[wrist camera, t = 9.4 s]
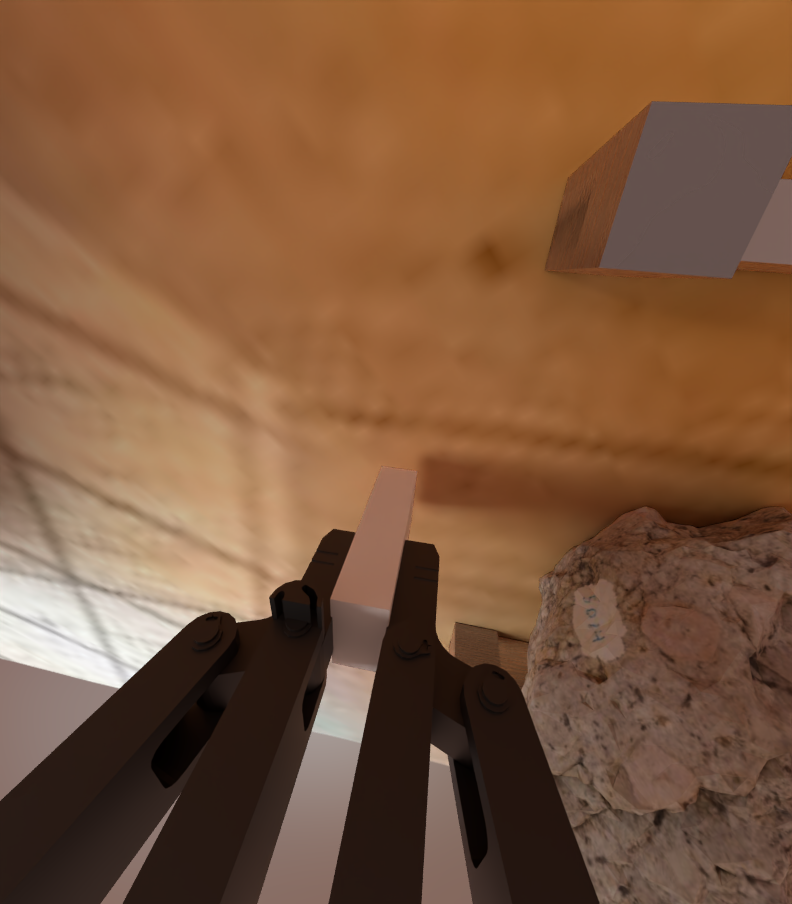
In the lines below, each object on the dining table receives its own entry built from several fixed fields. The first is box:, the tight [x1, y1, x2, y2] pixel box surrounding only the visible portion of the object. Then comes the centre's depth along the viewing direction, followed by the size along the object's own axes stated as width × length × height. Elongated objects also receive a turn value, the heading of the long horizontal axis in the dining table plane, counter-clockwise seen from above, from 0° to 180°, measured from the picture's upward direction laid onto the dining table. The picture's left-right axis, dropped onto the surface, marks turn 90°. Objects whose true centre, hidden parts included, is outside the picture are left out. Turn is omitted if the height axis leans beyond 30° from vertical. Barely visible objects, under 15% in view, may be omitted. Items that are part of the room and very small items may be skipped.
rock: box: [521, 506, 792, 904], centre depth 12 cm, size 14×10×8 cm
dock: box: [449, 101, 792, 690], centre depth 12 cm, size 20×23×5 cm
